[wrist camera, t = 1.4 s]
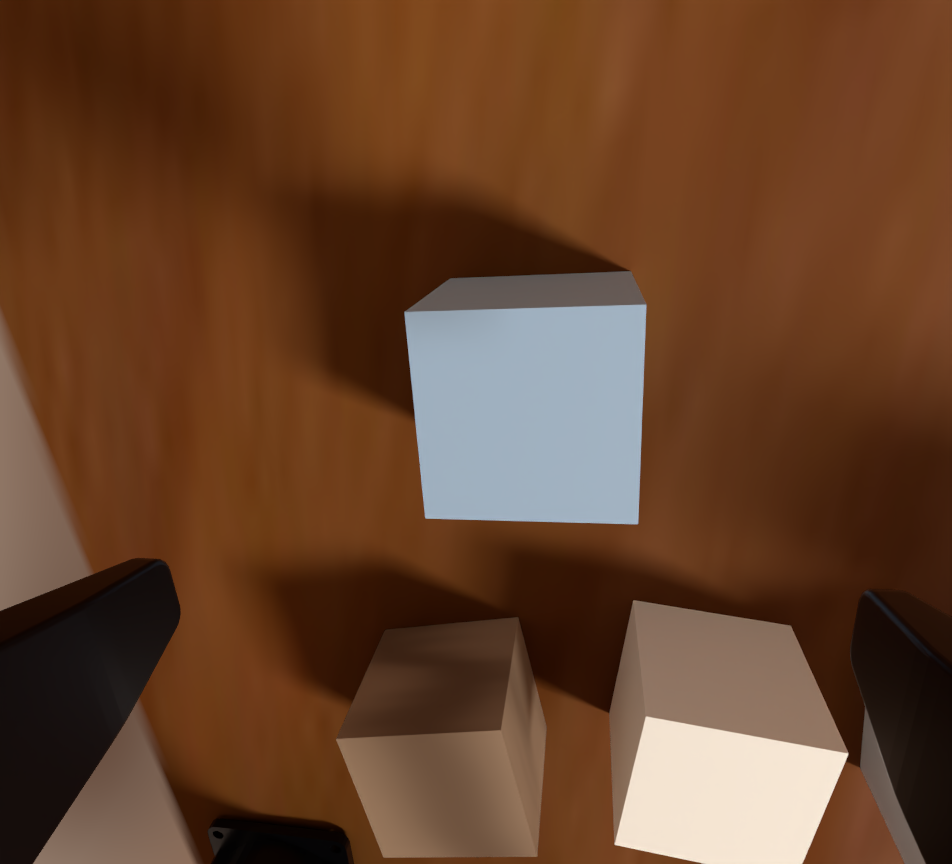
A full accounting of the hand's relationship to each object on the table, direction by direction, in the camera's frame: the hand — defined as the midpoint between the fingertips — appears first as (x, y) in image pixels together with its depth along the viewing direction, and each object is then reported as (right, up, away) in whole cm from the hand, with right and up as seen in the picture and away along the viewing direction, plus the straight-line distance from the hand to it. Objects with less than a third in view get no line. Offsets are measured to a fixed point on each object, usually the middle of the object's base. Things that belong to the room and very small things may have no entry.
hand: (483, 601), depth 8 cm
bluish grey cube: (+2, +4, +10) cm, 11 cm away
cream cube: (+7, -6, +13) cm, 16 cm away
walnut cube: (0, -7, +15) cm, 17 cm away
